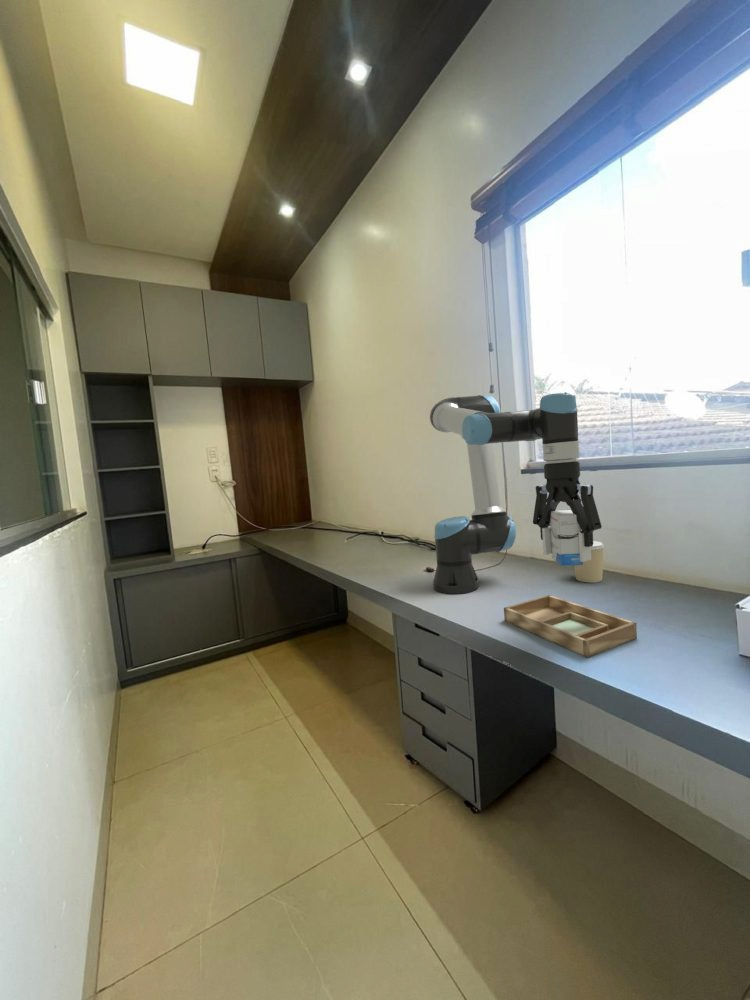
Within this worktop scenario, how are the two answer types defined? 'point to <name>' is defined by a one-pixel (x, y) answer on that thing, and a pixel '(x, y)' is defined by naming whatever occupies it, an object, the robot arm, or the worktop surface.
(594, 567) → the coffee cup
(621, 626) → the walled box
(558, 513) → the ink box
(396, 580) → the worktop surface
